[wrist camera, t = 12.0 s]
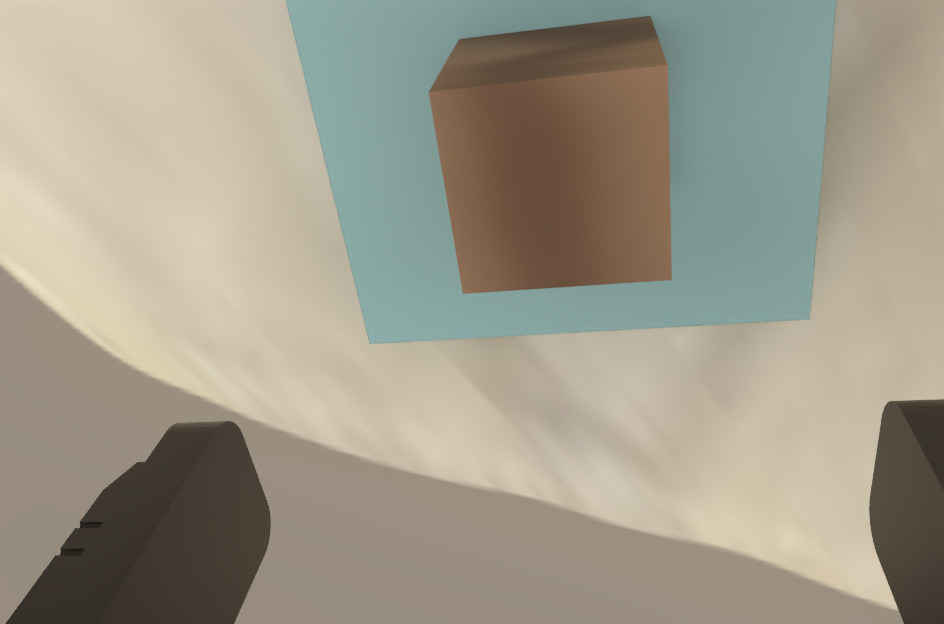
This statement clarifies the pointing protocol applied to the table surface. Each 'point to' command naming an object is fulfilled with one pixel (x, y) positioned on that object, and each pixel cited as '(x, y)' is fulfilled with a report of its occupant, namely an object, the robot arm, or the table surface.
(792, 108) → the teal board
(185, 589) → the robot arm
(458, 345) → the table surface
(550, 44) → the walnut cube
